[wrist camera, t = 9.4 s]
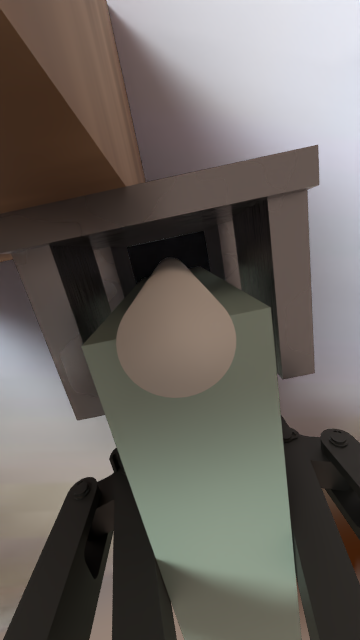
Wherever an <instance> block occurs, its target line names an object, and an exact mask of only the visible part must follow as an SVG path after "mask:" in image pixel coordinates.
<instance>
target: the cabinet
mask: <svg viewBox="0 0 360 640" xmlns="http://www.w3.org/2000/svg"><path fill="white" fill-rule="evenodd" d="M144 182H146V181H145V176H144V172H143V167H142V163H141V158H140V153H139V149H138V144H137V140H136V135H135V130H134V126H133V121H132V117H131V112H130V107H129V103H128V98H127V94H126V89H125V84H124V80H123V75H122V71H121V66H120V61H119V57H118V52H117V48H116V43H115V38H114V34H113V29H112V25H111V20H110V15H109V11H108V6H107V2H106V0H0V214H2V213H6V212H11V211H16V210H20V209H25V208H29V207H34V206H39V205H43V204H48V203H52V202H57V201H62V200H66V199H71V198H75V197H80V196H85V195H89V194H94V193H98V192H103V191H108V190H112V189H117V188H121V187H126V186H131V185H135V184H140V183H144ZM12 259H13V257H12V255H11V254H0V262H3V261H7V260H12Z"/></svg>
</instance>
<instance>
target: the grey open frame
mask: <svg viewBox="0 0 360 640" xmlns="http://www.w3.org/2000/svg"><path fill="white" fill-rule="evenodd" d="M318 185H319V158H318V145H315V146H310V147H305V148H301V149H296V150H292V151H287V152H282V153H278V154H273V155H269V156H264V157H259V158H255V159H250V160H246V161H241V162H236V163H232V164H227V165H223V166H218V167H213V168H209V169H204V170H200V171H195V172H190V173H186V174H181V175H177V176H172V177H167V178H163V179H158V180H154V181H149V182H144V183H140V184H135V185H131V186H126V187H121V188H117V189H112V190H108V191H103V192H98V193H94V194H89V195H85V196H80V197H75V198H71V199H66V200H62V201H57V202H52V203H48V204H43V205H39V206H34V207H29V208H25V209H20V210H16V211H11V212H6V213H2V214H0V254H11V255H12V257H13V260H14V262H15V265H16V268H17V270H18V273H19V275H20V278H21V280H22V283H23V285H24V288H25V290H26V293H27V295H28V298H29V300H30V303H31V305H32V308H33V310H34V313H35V315H36V318H37V321H38V323H39V326H40V328H41V331H42V333H43V336H44V338H45V341H46V343H47V346H48V348H49V351H50V353H51V356H52V358H53V361H54V363H55V366H56V368H57V371H58V374H59V376H60V379H61V381H62V384H63V386H64V389H65V391H66V394H67V396H68V399H69V401H70V404H71V406H72V409H73V411H74V414H75V416H76V419H77V420H82V419H87V418H92V417H97V416H102V415H105V413H104V410H103V407H102V404H101V401H100V398H99V396H98V393H97V390H96V387H95V384H94V381H93V378H92V376H91V373H90V370H89V367H88V364H87V361H86V359H85V356H84V353H83V350H82V347H81V346H82V345H83V344H84V343H85V342H86V341H87V340H88V338H89V337H90V336H91V335H92V334H93V333H94V332H95V331H96V329H97V328H98V327H99V326H100V325H101V324H102V323H103V322H104V321H105V319H106V318H107V317H108V316H109V315H110V314H111V313H112V312H113V310H114V309H115V308H116V307H117V306H118V305H119V304H120V303H121V302H122V300H123V299H124V298H125V297H126V296H127V295H128V294H129V293H130V291H131V290H132V289H133V288H134V287H135V286H136V281H135V277H134V273H133V269H132V265H131V261H130V257H129V253H128V250H127V247H130V246H135V245H140V244H144V243H149V242H154V241H159V240H163V239H168V238H173V237H177V236H182V235H187V234H191V233H196V232H201V231H204V234H205V240H206V247H207V253H208V259H209V265H210V271H211V273H212V274H214V275H216V276H218V277H219V278H221V279H223V280H224V281H226V282H228V283H230V284H231V285H233V286H235V287H236V288H238V289H240V290H242V291H243V292H245V293H247V294H249V295H250V296H252V297H254V298H255V299H257V300H259V301H261V302H262V303H264V304H266V305H267V306H269V307H271V316H272V327H273V337H274V348H275V359H276V370H277V373H278V374H279V375H280V377H281V378H282V379H287V378H292V377H297V376H302V375H307V374H312V373H315V370H314V345H313V321H312V296H311V272H310V247H309V223H308V198H307V190H309V189H311V188H313V187H316V186H318Z"/></svg>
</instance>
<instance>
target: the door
mask: <svg viewBox="0 0 360 640" xmlns="http://www.w3.org/2000/svg"><path fill="white" fill-rule="evenodd" d="M81 347H82V350H83V353H84V356H85V359H86V361H87V364H88V367H89V370H90V373H91V376H92V378H93V381H94V384H95V387H96V390H97V393H98V396H99V398H100V401H101V404H102V407H103V410H104V413H105V415H106V418H107V421H108V424H109V427H110V430H111V433H112V435H113V438H114V441H115V444H116V447H117V450H118V452H119V455H120V458H121V461H122V464H123V467H124V469H125V472H126V475H127V478H128V481H129V484H130V487H131V489H132V492H133V495H134V498H135V501H136V504H137V506H138V509H139V512H140V515H141V518H142V521H143V524H144V526H145V529H146V532H147V535H148V538H149V541H150V543H151V546H152V549H153V552H154V555H155V558H156V561H157V563H158V566H159V569H160V572H161V575H162V578H163V580H164V583H165V586H166V589H167V592H168V595H169V597H170V600H171V603H172V606H173V609H174V612H175V615H176V617H177V620H178V623H179V626H180V629H181V631H182V634H183V637H184V640H302V639H301V628H300V618H299V607H298V596H297V587H296V586H297V585H296V574H295V563H294V553H293V542H292V531H291V520H290V509H289V499H288V488H287V477H286V466H285V456H284V445H283V434H282V423H281V413H280V402H279V391H278V380H277V370H276V359H275V348H274V337H273V327H272V316H271V307H269V306H267V305H266V304H264V303H262V302H261V301H259V300H257V299H255V298H254V297H252V296H250V295H249V294H247V293H245V292H243V291H242V290H240V289H238V288H236V287H235V286H233V285H231V284H230V283H228V282H226V281H224V280H223V279H221V278H219V277H218V276H216V275H214V274H212V273H211V272H209V271H207V270H206V269H204V268H202V267H200V266H197V267H192V268H187V267H186V266H185V265H184V264H183V263H182V262H181V261H180V260H179V259H177V258H175V257H167V258H164V259H163V260H161V261H160V263H159V264H158V265H157V267H156V268H155V270H154V271H153V273H152V274H151V276H150V277H145V278H142V279H141V280H140V281H139V283H138V284H137V285H136V286H135V287H134V288H133V289H132V290H131V291H130V293H129V294H128V295H127V296H126V297H125V298H124V299H123V300H122V302H121V303H120V304H119V305H118V306H117V307H116V308H115V309H114V310H113V312H112V313H111V314H110V315H109V316H108V317H107V318H106V319H105V321H104V322H103V323H102V324H101V325H100V326H99V327H98V328H97V329H96V331H95V332H94V333H93V334H92V335H91V336H90V337H89V338H88V340H87V341H86V342H85V343H84V344H83V345H82V346H81Z"/></svg>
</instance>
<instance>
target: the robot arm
mask: <svg viewBox="0 0 360 640" xmlns="http://www.w3.org/2000/svg"><path fill="white" fill-rule="evenodd" d="M281 423H282V434H283V445H284V456H285V466H286V477H287V488H288V499H289V509H290V520H291V531H292V542H293V553H294V563H295V573H296V578H297V582H298V586H299V591H300V596H301V600H302V605H303V609H304V614H305V618H306V623H307V627H308V632H309V636H310V640H360V584H359V581H358V579H357V576H356V574H355V571H354V569H353V566H352V564H351V561H350V559H349V557H348V554H347V551H346V549H345V546H344V544H343V541H342V539H341V536H340V534H339V531H338V529H337V526H336V524H335V521H334V519H333V516H332V514H331V511H330V509H329V506H328V504H327V501H326V499H325V496H324V494H323V491H322V489H321V488H325V490H326V491H327V493H328V494H329V496H330V497H331V498H332V500H333V502H334V503H335V504H336V506H337V507H338V509H339V510H340V512H341V513H342V515H343V516H344V518H345V519H346V520H347V522H348V523H349V525H350V526H351V528H352V529H353V531H354V532H355V534H356V535H357V537H358V538H359V539H360V443H359V442H358V441H357V440H356V439H355V438H354V437H353V436H351V435H350V434H349V433H347V432H345V431H342V430H339V429H327V430H325V431H323V432H322V434H321V437H308V436H303V435H300V434H299V433H298V432H297V431H296V430H294V429H292V428H290V427H289V426H288V425H287V423H286V422H285V420H284V419H283V417H282V416H281ZM109 460H110V462H111V465H112V468H113V470H114V473H113V474H112V475H110V476H108V477H107V478H105V479H103V480H101V481H99V482H97V481H96V479H94V478H93V477H87V478H84V479H81V480H80V481H78V482H77V483H75V484H74V486H73V487H72V488H71V489H70V491H69V492H68V494H67V496H66V498H65V501H64V503H63V505H62V507H61V510H60V512H59V514H58V517H57V519H56V521H55V523H54V526H53V528H52V530H51V532H50V535H49V537H48V539H47V541H46V544H45V546H44V548H43V550H42V553H41V555H40V557H39V560H38V562H37V564H36V566H35V569H34V571H33V573H32V575H31V578H30V580H29V582H28V584H27V587H26V589H25V591H24V593H23V596H22V598H21V600H20V602H19V605H18V607H17V609H16V612H15V614H14V616H13V618H12V621H11V623H10V625H9V627H8V630H7V632H6V634H5V636H4V639H3V640H89V638H90V634H91V629H92V625H93V620H94V615H95V611H96V607H97V602H98V598H99V593H100V589H101V584H102V580H103V576H104V571H105V567H106V562H107V558H108V553H109V549H110V544H111V540H112V535H113V531H114V543H113V614H112V616H113V617H112V640H177V639H176V631H175V625H174V619H173V612H172V606H171V600H170V597H169V595H168V592H167V589H166V586H165V583H164V580H163V578H162V575H161V572H160V569H159V566H158V563H157V561H156V558H155V555H154V552H153V549H152V546H151V543H150V541H149V538H148V535H147V532H146V529H145V526H144V524H143V521H142V518H141V515H140V512H139V509H138V506H137V504H136V501H135V498H134V495H133V492H132V489H131V487H130V484H129V481H128V478H127V475H126V472H125V469H124V467H123V464H122V461H121V458H120V455H119V452H118V450H117V448H116V449H114V450H113V452H112V453H111V455H110V459H109Z"/></svg>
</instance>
